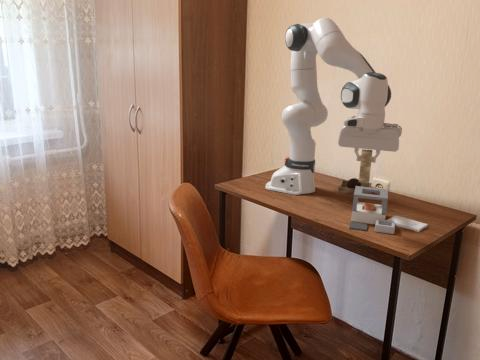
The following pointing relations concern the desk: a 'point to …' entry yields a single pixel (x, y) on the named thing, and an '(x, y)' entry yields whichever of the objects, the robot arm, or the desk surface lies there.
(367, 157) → the tan rectangular block
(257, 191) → the desk surface
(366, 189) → the grey open box frame
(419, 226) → the external hard drive
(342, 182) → the watch tray
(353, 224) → the pad
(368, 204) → the button
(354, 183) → the dark brown rounded lump
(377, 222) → the grey square tray
